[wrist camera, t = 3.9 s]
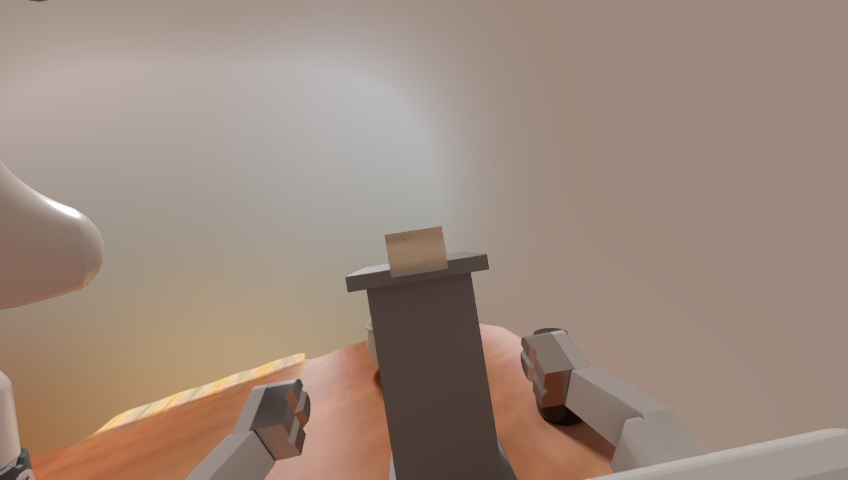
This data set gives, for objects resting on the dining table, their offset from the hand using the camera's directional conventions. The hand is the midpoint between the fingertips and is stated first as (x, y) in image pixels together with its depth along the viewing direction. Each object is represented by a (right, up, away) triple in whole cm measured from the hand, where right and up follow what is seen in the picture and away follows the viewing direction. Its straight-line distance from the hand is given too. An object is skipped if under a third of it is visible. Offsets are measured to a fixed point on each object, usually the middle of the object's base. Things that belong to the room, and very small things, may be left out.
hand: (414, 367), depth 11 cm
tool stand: (+3, -24, +25) cm, 34 cm away
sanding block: (0, +2, +20) cm, 21 cm away
